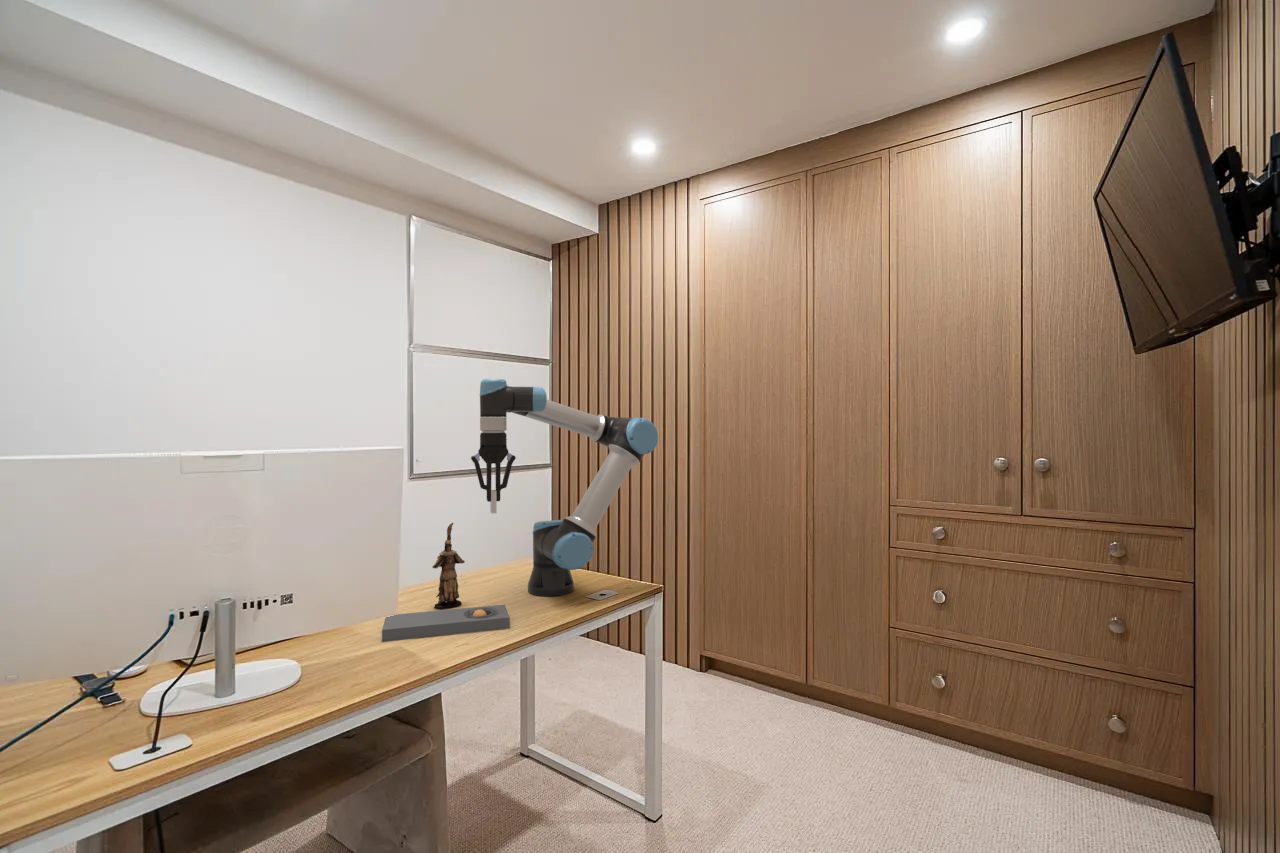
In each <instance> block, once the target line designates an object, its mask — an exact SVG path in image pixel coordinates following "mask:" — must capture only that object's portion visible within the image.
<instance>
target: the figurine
mask: <svg viewBox="0 0 1280 853" xmlns="http://www.w3.org/2000/svg"><path fill="white" fill-rule="evenodd" d="M453 526H454V522H451V523H449V525H448V526H447V529H446V535H447V536H446V540H445V541H444V549H443V550H442V551H440V553H439V554H438V555H437V560H436V561H435V563H434V564H433V565H432V567H431V568H433V569H438V568H441V571H440V574H439V585H438V590H437V591H438V594H436V596H435V598H438V601H437V603H434V606H433V609H434V610H436V611H439V610H450V609H456V608H458V607H461V606H463V603H462V601H461V600H458V599H459V598H460V593H459V583H458V579H457V577H458V574H457V571H456V568H455V567H456V564H464V563H466V562H465V560H464V559H462V557H461V556H460V554H458V552H457V551H456V550H453V549H452V547H453V545H452V530H453Z"/></svg>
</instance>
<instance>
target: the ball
mask: <svg viewBox="0 0 1280 853" xmlns="http://www.w3.org/2000/svg"><path fill="white" fill-rule="evenodd" d="M473 616H487V614H486V612H485V611H484V610H481V609H479V610H476V611H475V612H474V613H473Z"/></svg>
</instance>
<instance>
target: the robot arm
mask: <svg viewBox="0 0 1280 853" xmlns="http://www.w3.org/2000/svg"><path fill="white" fill-rule="evenodd" d="M479 411H480V415H479V416H480V417H479V431H481V433H480V434H479V450H477V453H476V454H474V455H471V456H470V459H471V461H472V462H473V464H474V467H475V471H476V475H477V480H478V483H479V487H480V489H481V490H485V491H486V501H487V502H490V513H491V514H497V502H501V491H502V490H503V489H506V488H507V487H508V481H509V477H510V474H511V469H512V466H513V463H514V462H515V460H516V459H517V458H516V455H514V454H512V453H510V452H509V449H508V447H507V440H508V439H507V435H508V434H507V433H506V432H505V431H507V430H508V426H507V417H508V416H507V413H509V414H511V413H512V414H515V415H520V416H521V417H522V416H523V417H526V418H530V419H532V420H535V421H539V422H542V423H544V424H548V425H551V426H553V427H558V428H561V429H563V430H567V431H569V432H574V433H576V434H579V435H583V436H586V437H589V438H590V440H591V441H592V442H595V443H599V444H601V445H602V446H605V447H608V450H609V452H608V455H607V456H606V458H605V460H604V461H603V463H602V464H601V467H600V468H599V470H598V471H597V472H596V475H595V476H594V477H593V480H592V481H591V483H590V485H589V486H588V488H587V490H586V491H585V493H584V495H583V496H582V497H581V499H580V501H579V503H578V504H577V506H576V508H575V510H574V511H573V512H572V515H569V516H566V517H564V518H563V519H556V520H555V519H554V520H553V519H552V520H542V521H536V522H535V523H534V524H533V530H532V547H533V549H532V551H533V552H532V553H533V554H532V560H533V561H532V566H533V567H532V570H531V574H530V576H529V579H528V583H527V592H528V593H529V594H531V595H535V596H538V597H539V596H540V597H557V596H558V597H559V596H563V595H566V594H570V593H572V592H573V591H574V590H575V581H574V578H573V576H572V572H571V571H574V570H575V571H576V570H580V569H582V568H583V567H585V566H586V565H588V563H589V562H590V560H591V559H592V557H593V553H594V548H593V547H594V545H593V543H594V542H595V539H596V538H597V535H596V528H597V527H598V525H599V523H600V521H601V519H602V518H603V516H604V515H605V513H606V512H607V510H608V508H609V506H610V505H611V503H612V501H613V499H614V498H615V497H616V494H617V493H618V491H619V489H620V487H621V486H622V484H623V483H624V481H625V479H626V477H627V475H628V473H629V472H630V470H631V469H632V467H633V466H636V465H640V462H641V461H642V459H643V457H644V456H645V455H648V454H650V453H652V452H653V451H654V450H655V449H656V447H657V445H658V440H659V435H658V430H657V427H656V426H655V424H654V423H653V422H652V421H651V420H649V419H648V418H644V417H639V416H637V417H617V416H616V417H615V416H614V417H613V416H608V415H605V414H602V413H601V414H600V413H599V414H598V415H595V414H593V413H592V414H591V413H589V412H586V411H583V410H580V409H576V408H573V407H572V406H568V405H565V404H561V403H558V402H555V401H553V400H550V399H548V397H547V392H546V390H545V388H543V387H539V386H509V385H508V384H507V380H506V379H503V378H501V379H500V378H483V379H482V380H481V381H480V386H479ZM480 457H481V459H480ZM505 459H506V460H507V463H506V466H505V471H504V474H503V478H502V482H501V463H502V462H503V461H504V460H505ZM480 460H482V461H484V463H485V465H486V467H485V468H486V484H485V481H484V477H483V474H482V469H481V467H480ZM492 464H495V469H494V470H495V489H492Z"/></svg>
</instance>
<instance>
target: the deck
mask: <svg viewBox="0 0 1280 853" xmlns="http://www.w3.org/2000/svg"><path fill="white" fill-rule="evenodd" d="M479 609H481V610H484V611H485V612H486V614H487V616H473V613H474V612H475V611H476V610H479ZM393 615H394V616H390V617H386V616H385V617H386V618H384V622H383V626H382V629H381V642H382V643H383V642H390V641H391V642H392V641H401V640H411V639H420V638H422V639H423V638H431V637H439V636H450V635H458V634H469V633H477V632H478V633H479V632H488V631H496V630H497V631H498V630H505V629H506V628H509V629H510V621H511V620H510V615H509V612H508V609H507V607H506V604H496V605H483V606H473V607H463V608H462V607H461V608H450V609H444V610H431V611H420V612H419V611H418V612H409V613H408V612H407V613H398V614H397V613H396V615H395V614H393Z"/></svg>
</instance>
